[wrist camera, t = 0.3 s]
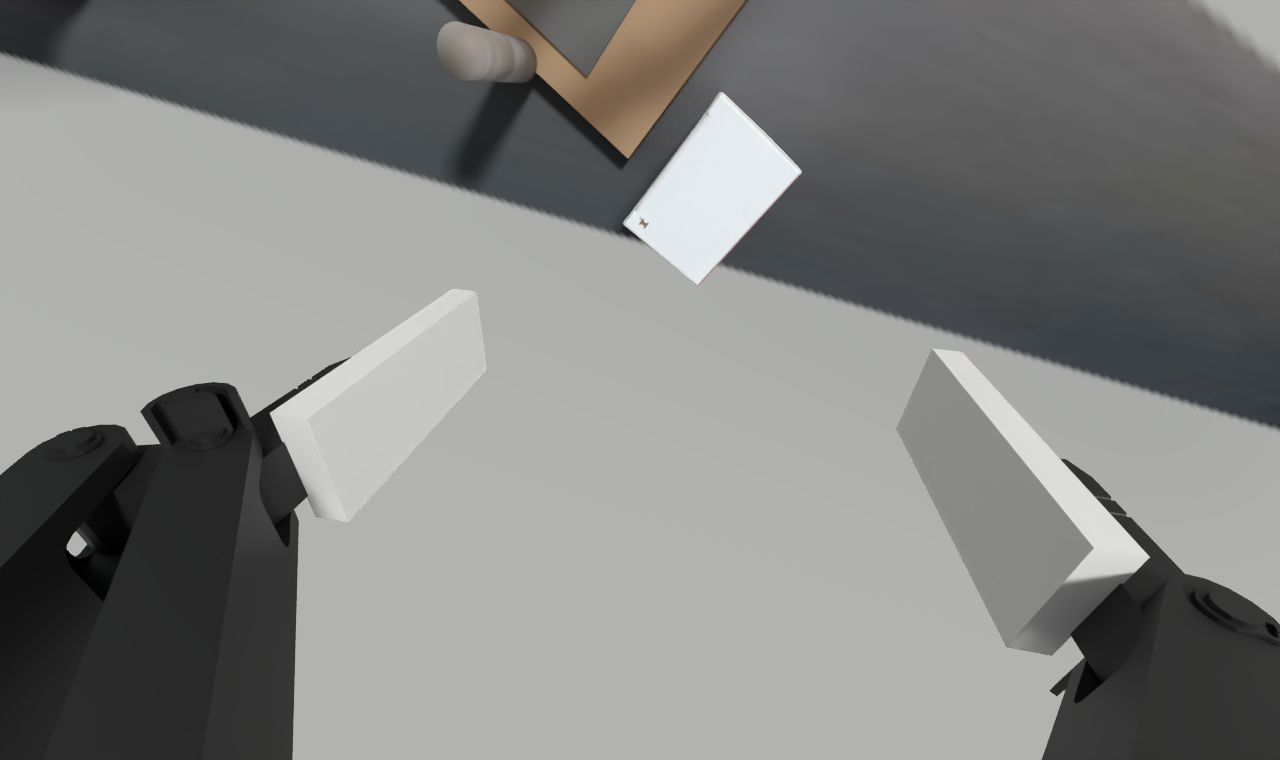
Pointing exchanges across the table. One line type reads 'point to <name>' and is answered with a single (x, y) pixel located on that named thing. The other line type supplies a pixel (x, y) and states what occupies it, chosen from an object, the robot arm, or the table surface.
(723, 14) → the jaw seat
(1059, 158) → the table surface
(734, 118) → the small box
